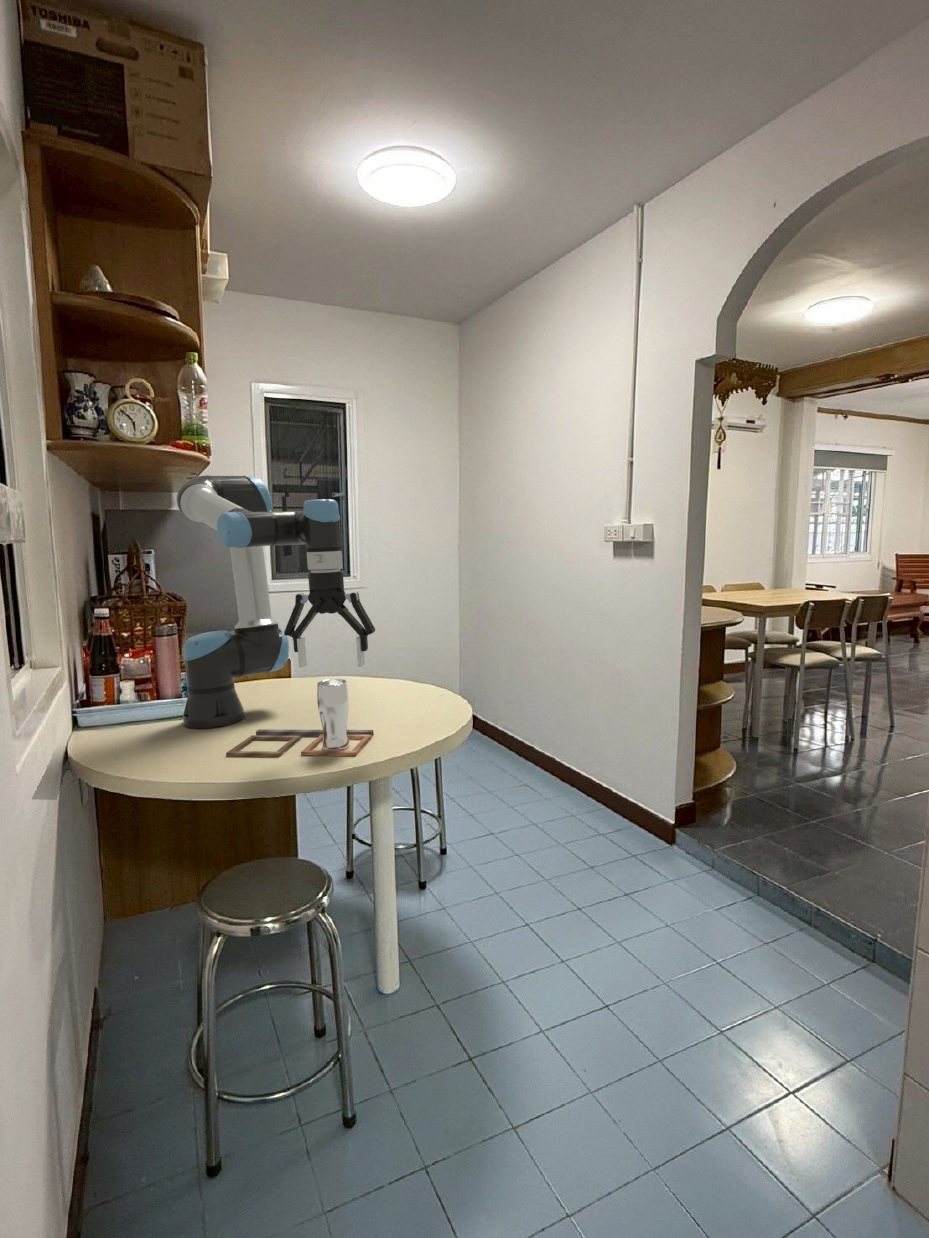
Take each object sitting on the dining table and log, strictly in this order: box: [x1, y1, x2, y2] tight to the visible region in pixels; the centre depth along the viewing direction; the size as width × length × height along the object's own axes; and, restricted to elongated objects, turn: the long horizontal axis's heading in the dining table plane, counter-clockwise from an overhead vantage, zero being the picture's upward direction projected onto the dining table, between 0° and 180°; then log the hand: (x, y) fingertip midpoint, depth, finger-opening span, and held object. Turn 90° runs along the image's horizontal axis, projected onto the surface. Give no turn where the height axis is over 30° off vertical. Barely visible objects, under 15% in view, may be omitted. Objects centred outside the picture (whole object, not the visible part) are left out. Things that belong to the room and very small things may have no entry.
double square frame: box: [225, 729, 374, 758], centre depth 151 cm, size 29×16×1 cm, turn 82°
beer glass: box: [316, 678, 351, 751], centre depth 148 cm, size 7×7×15 cm
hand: (332, 666), depth 146 cm, fingers open, 13 cm apart
